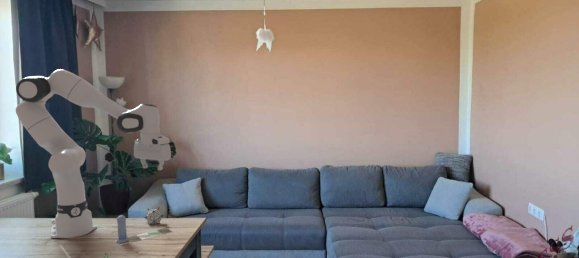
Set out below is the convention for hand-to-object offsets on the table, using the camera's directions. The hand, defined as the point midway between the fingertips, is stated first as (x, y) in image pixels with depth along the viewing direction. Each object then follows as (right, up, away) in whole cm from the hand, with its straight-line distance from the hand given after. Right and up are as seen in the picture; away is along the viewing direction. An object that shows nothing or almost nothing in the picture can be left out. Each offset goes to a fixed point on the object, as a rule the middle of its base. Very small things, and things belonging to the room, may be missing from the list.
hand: (152, 168), depth 190 cm
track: (+1, -29, -12) cm, 31 cm away
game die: (-1, -27, +5) cm, 27 cm away
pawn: (-6, -28, -18) cm, 34 cm away
